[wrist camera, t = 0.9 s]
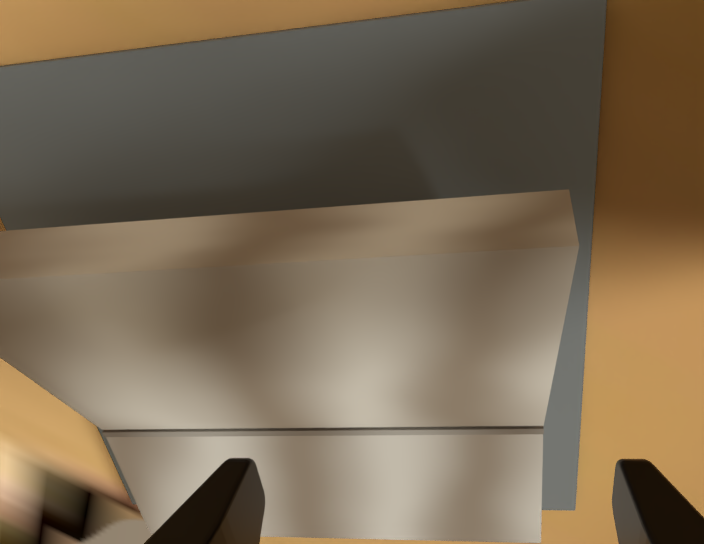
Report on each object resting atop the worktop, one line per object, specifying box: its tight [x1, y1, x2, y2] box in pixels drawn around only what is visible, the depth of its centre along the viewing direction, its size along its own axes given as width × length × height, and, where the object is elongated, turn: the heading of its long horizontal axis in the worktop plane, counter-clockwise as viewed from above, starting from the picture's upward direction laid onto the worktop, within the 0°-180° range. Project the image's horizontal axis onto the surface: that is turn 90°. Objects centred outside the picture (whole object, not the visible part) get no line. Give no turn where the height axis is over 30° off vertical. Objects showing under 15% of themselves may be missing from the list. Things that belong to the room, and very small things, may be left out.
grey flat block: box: [102, 426, 544, 543], centre depth 24 cm, size 16×6×2 cm, turn 98°
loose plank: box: [0, 189, 579, 430], centre depth 18 cm, size 16×10×2 cm, turn 98°
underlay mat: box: [0, 0, 607, 510], centre depth 22 cm, size 19×19×1 cm
